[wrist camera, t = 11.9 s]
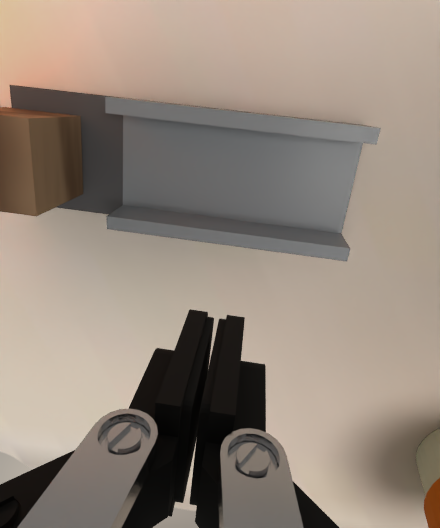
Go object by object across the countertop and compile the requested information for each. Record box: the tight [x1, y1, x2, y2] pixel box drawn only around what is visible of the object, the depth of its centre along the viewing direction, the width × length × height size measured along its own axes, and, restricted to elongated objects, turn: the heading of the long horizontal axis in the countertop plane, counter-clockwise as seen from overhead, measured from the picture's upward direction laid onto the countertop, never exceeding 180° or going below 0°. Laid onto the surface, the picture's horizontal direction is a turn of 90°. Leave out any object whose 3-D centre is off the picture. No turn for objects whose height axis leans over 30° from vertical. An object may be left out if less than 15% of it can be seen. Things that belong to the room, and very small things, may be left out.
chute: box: [105, 97, 381, 261], centre depth 28 cm, size 18×9×4 cm, turn 84°
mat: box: [10, 85, 123, 214], centre depth 31 cm, size 9×9×1 cm
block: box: [0, 107, 83, 216], centre depth 27 cm, size 6×6×7 cm
